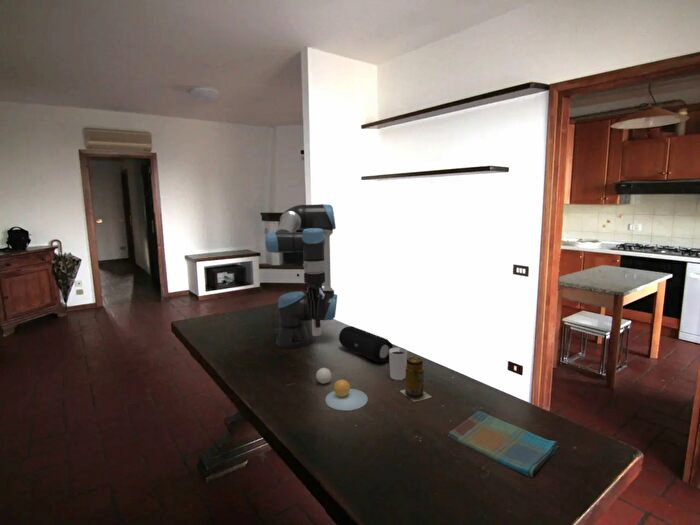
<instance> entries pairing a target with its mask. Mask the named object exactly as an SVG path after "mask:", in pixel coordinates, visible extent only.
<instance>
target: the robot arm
mask: <svg viewBox="0 0 700 525" xmlns="http://www.w3.org/2000/svg"><path fill="white" fill-rule="evenodd" d="M334 212H335V211H334V207H333V206H332V205H331V204H323V203H321V204H297V205H295V206H291V207H290V208H288V209H286V210H285V211H284V212H282V214H281V216H280V217H279V225H278V227H277V229H276V230H275V232H274V231H273V232H267V233H266V234H265V239H264V240H265V242H264V243H265V249H266V251H267V253H274V254H278V253H280V254H281V253H283V254H284V253H302V254H303V263H302V267H303V272H304V273H303V281H304V284H306V285H307V287H305V288H304V292H303V291H291V292H287V293H284V294H282V295H281V296H279V298H278V306H277V307H278V322H279V323H278V324H279V328H278V332H277V334H276V339H275V340H276V346H278V347H279V348H282V349H296V348H297V349H298V348H302V347H305V346H307V345H309V343H310V335H309V333H308V330H307V327H306V322H307V321H309V322H311V332H312V336H313V337H317V336H321V335H322V330H321V329H322V328H321V324H322V323H321V321H332V320H334V319H335V317H336V312H337V305H338V304H337V302H338V294H337V293H335V289H333V288H332V286H331V284H332V283H331V282H332V281H331V279H332V277H331V243H330V242H331V240H330V238H331V235H332V234H333V233H334V231H333V230H336V221H335V220H336V219H335V214H334ZM298 230H302V231H298Z"/></svg>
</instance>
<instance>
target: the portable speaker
mask: <svg viewBox="0 0 700 525" xmlns="http://www.w3.org/2000/svg"><path fill="white" fill-rule="evenodd" d="M338 341H339V343H340V344H341V345H342V347H343V348H345V349H347V350H349V351H352V352H353V353H356V354H358V355H360V356H363V357H365V358H367V359H369V360H372V361H374V362H376V363H387V362H389V350H390V349H391V348H394V346H393V344H392V343H391V342H390V340H388V339H387V338H385V337H382V336H379V335H377V334H375V333H371V332H368V331H366V330H363V329H361V328H358V327H356V326H345V327H344V328H342V329H341V330H340V332H339V334H338Z"/></svg>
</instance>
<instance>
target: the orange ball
mask: <svg viewBox="0 0 700 525" xmlns="http://www.w3.org/2000/svg"><path fill="white" fill-rule="evenodd" d="M350 389H351V384H350V383H349V382H348V381H347V380H345V379H339V380H337V381H336V382H335V383H334V385H333V391H334V392H335V393H336V395H338V396H340V397H344V396H346V395H347V394H348V393H349V391H350Z"/></svg>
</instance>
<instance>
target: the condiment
mask: <svg viewBox="0 0 700 525" xmlns="http://www.w3.org/2000/svg"><path fill="white" fill-rule="evenodd" d="M424 370H425V368H424V366H423V359H422V358H420V357H417V356H416V357H415V356H410V357H409V358H408V357H407V363H406V377H405V388H404V389H401V390H399V392H400V393H402V394H403V395H404V396H405V397H407V398H408V399H409V400H411V401H412V402H414V403H415V402H419V401H423V400H426V399H429V398H430V399H431V398H432V395H430V394H429V393H427V392H426V391H424V387H425V386H424V383H425V382H424V381H425V380H424V378H425V371H424Z"/></svg>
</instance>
